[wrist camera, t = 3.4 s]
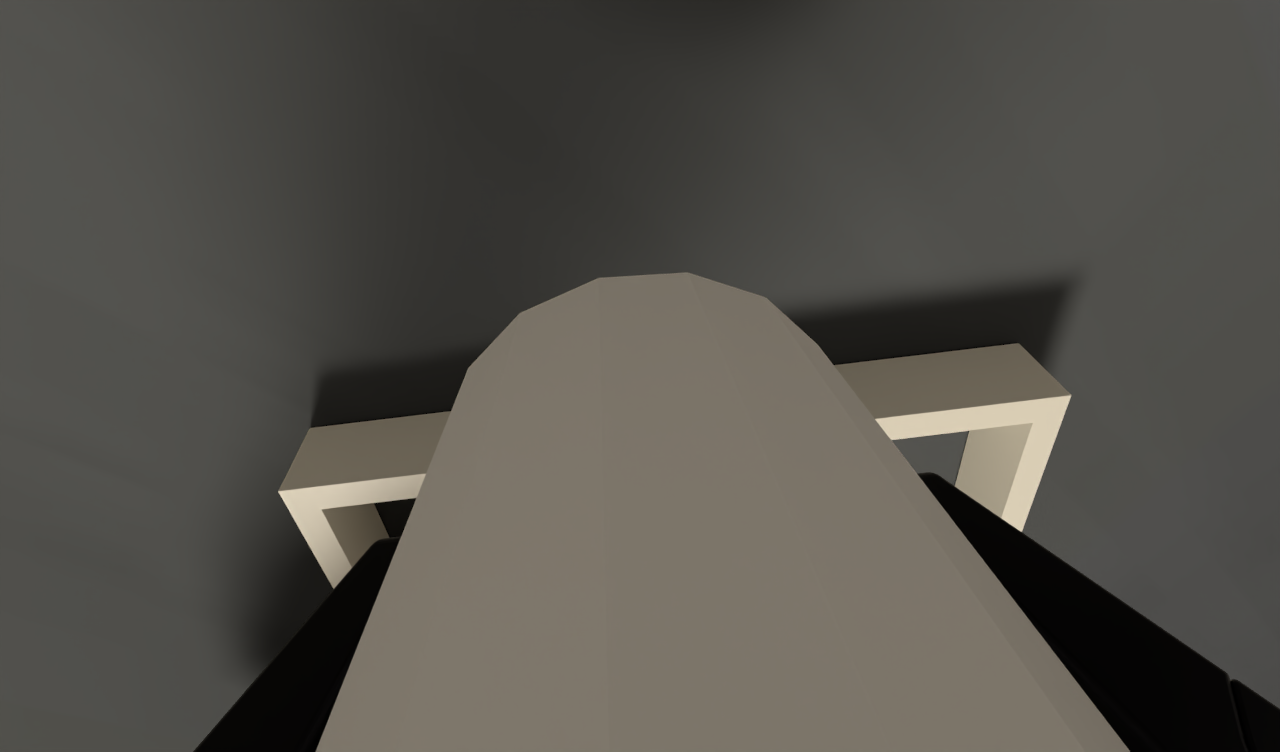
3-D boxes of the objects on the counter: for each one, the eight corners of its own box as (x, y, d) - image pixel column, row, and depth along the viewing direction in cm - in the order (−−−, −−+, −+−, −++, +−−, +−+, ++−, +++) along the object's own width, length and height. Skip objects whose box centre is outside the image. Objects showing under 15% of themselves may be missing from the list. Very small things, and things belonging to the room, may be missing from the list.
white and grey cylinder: (947, 467, 11) (1377, 1117, 5) (602, 640, 13) (626, 1253, 7) (727, 100, 7) (1338, 887, 1) (295, 417, 9) (-174, 1288, 3)
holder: (951, 576, 25) (984, 635, 23) (415, 643, 25) (401, 708, 23) (1018, 343, 19) (1071, 395, 17) (309, 427, 19) (278, 491, 17)
